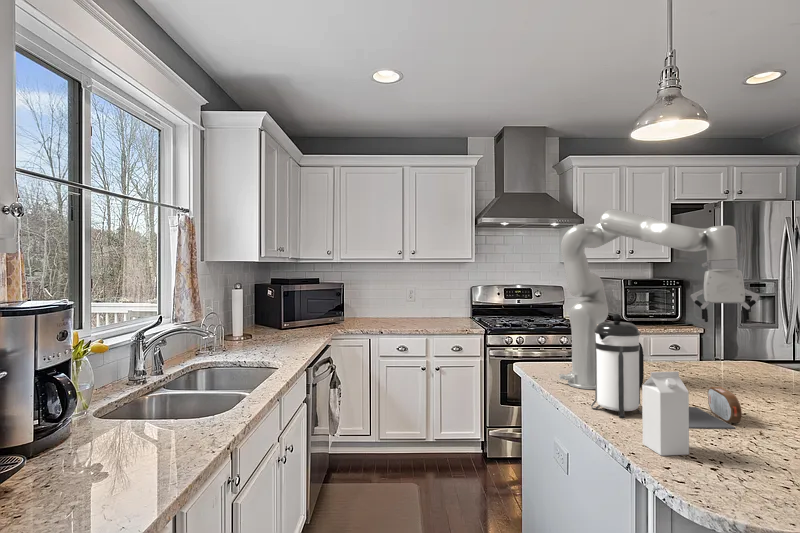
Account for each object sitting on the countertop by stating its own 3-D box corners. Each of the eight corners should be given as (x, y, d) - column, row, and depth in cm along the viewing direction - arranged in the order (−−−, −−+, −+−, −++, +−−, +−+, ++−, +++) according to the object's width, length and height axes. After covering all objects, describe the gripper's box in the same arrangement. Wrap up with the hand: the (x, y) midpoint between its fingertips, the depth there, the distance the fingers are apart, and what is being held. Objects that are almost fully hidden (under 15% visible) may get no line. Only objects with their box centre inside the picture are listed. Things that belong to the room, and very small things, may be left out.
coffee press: (652, 421, 132) (652, 317, 132) (592, 415, 137) (591, 315, 137) (643, 404, 148) (642, 311, 148) (589, 399, 153) (589, 310, 153)
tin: (743, 427, 127) (742, 397, 127) (730, 426, 127) (730, 396, 127) (717, 410, 141) (716, 383, 141) (705, 410, 142) (705, 382, 142)
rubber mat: (688, 428, 126) (688, 426, 126) (655, 408, 144) (655, 406, 144) (735, 428, 125) (735, 427, 125) (696, 408, 143) (696, 407, 143)
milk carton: (642, 444, 115) (641, 369, 115) (669, 443, 116) (668, 368, 116) (660, 456, 108) (660, 375, 108) (689, 455, 108) (688, 375, 108)
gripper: (689, 267, 142) (692, 322, 141) (759, 264, 133) (762, 323, 133) (688, 267, 148) (691, 320, 148) (755, 265, 139) (758, 321, 139)
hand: (725, 321), depth 140 cm, fingers open, 9 cm apart
